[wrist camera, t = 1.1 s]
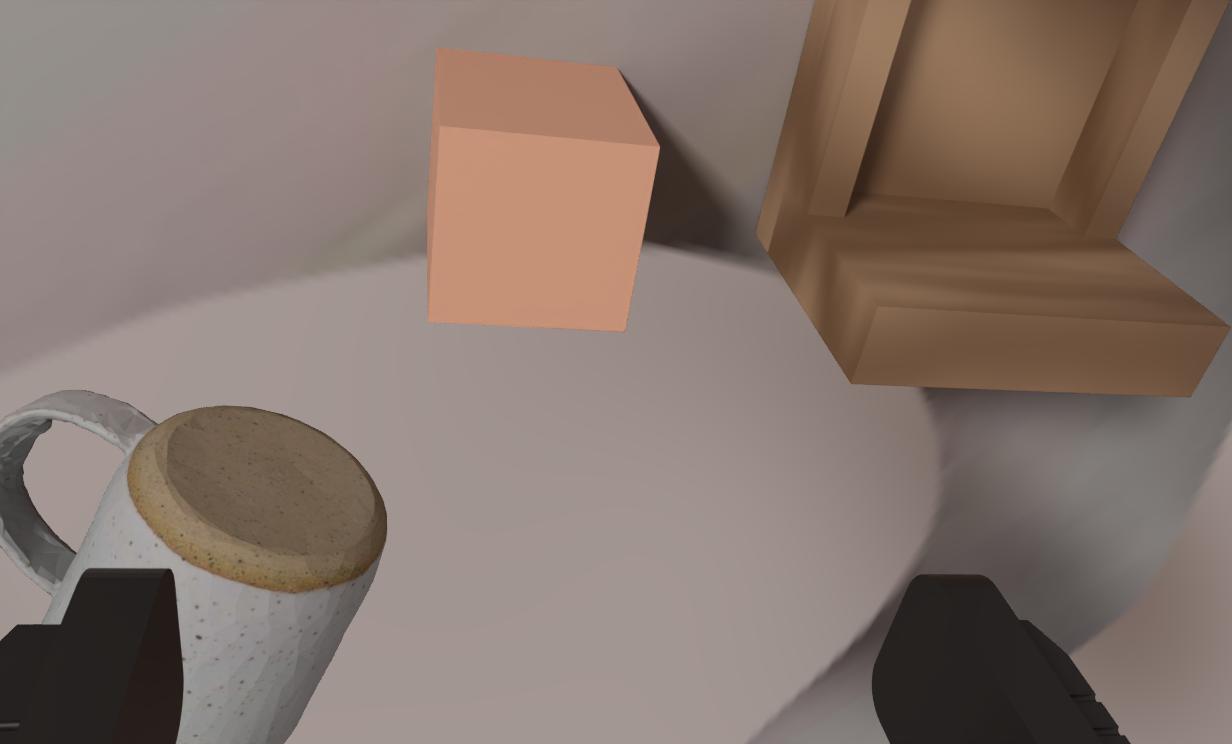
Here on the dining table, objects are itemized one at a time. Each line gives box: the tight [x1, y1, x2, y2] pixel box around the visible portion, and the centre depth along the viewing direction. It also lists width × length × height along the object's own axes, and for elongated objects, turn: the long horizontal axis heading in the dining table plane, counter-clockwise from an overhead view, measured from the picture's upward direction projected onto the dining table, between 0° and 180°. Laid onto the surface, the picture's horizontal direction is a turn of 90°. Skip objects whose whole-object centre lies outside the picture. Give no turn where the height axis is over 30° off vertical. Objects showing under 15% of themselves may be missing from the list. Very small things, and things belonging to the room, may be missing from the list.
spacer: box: [427, 47, 660, 332], centre depth 23 cm, size 4×4×6 cm
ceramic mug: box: [0, 390, 387, 744], centre depth 26 cm, size 11×8×8 cm
